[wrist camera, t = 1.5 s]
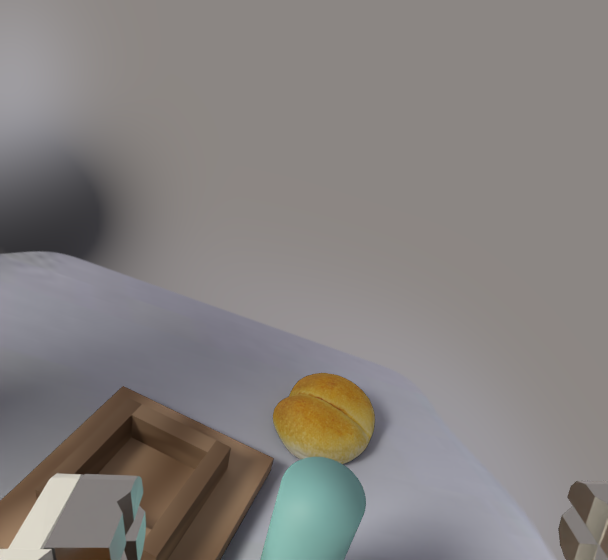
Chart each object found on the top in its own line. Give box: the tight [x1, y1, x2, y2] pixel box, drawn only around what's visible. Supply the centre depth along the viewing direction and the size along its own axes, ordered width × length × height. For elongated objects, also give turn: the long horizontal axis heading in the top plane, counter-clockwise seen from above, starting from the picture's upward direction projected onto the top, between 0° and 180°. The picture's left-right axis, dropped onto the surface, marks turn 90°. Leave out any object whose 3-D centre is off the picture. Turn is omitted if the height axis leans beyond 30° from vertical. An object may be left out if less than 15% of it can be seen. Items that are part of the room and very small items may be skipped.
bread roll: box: [273, 373, 375, 464], centre depth 44 cm, size 8×9×4 cm
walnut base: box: [0, 386, 274, 560], centre depth 35 cm, size 14×14×4 cm
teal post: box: [261, 457, 366, 560], centre depth 29 cm, size 4×4×12 cm
